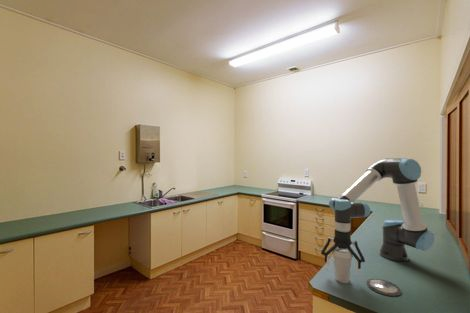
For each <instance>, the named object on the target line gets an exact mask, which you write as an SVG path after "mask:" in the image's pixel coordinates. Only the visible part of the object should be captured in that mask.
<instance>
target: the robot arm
mask: <svg viewBox="0 0 470 313" xmlns="http://www.w3.org/2000/svg"><path fill="white" fill-rule="evenodd" d="M421 175H422V167H421V166H420V164H419V162H418V161H417V160H415V159H414V158H406V157H405V158H404V157H403V158H398V157H397V158H390V157H389V158H382V159H381V160H379V161H376V162H375V163H373V164H371V165H370V166H369V167H368V168H367V169H366V170H365V173H364V174H363V175H362V176H361V177H359V178H358V179H356V181H355V182H354V183H352V185H350V186H349V187H348V188H347V189H346V190H345V191H344V192H342V194H341V195H339V196H338V197H332V198H331V199H330V200H329V202H328V207H329V208H330V209H331V211H332V210H333V211H334V234H333V235H334V236H333V237H331V236H328V237H327V241H326V243H325V244H324V245H323V248H322V250H321V252H320V254H321V255H323V257H324V262H325V263H326V270H329V268H330V265H329V264H330V263H329V262H330V261H329V260H330V259H329V257H330V254H331V253H332V252H333V250H334V249H336V248H337V247H338V248H343V249H348V250H349V251H350V252H351V254H352V255H353V257H354V259H355V276H359V270H360V269H362V268H361V266H362V264H361V263H365V262H366V260H365V256H364V254H363V253H362V252H361V249H360V247H359V244H358V241H357V240H354V241H353V240H351V236H352V234H351V227H352V225H351V224H352V219H354V218H356V219H357V218H358V219H359V218H366V217H369V216H370V214H371V207H370V206H369V205H368V204H367V203H366V202H356V201H357V200H358V199H359V198H360V197H361V196H362V195H363V194H364V193H365V192H367V191H368V190H369V189H370V188H371V187H372V186H373V185H374V184H375V183H376V182H380V181H381V180H383V179H385V178H390V179H391V181H392V183H393V185H396V189H397V194H398V199H399V203H400V208H401V213H402V218H403V220H399V219H398V220H397V219H385V220H383V223H382V244H381V246H380V248H379V255H380V256H381V257H383V258H385V259H387V260H391V261H395V262H407V261H409V255H408V251H407V249H406V246H407V247H411V248H415V249H416V250H420V251H424V252H425V251H428V250H430V249H431V248H433V245H434V244H435V238H436V237H435V234H434V232H432V231H430V230H428V229H429V228H428V225H427V224H426V223H424V222H423V217H422V212H421V208H420V202H419V198H418V197H419V196H418V193H417V188H416V183H417V182H418V179H420V177H421ZM332 242H333V243H334V244H333V245H332V246H331V247H330V248H329V249H328V250H327V248H328V247H329V246H330V243H332ZM351 245H352V246H353V247H355V250H356V251H357V253H358V254H356V252H355V251H354V250H353V248H352V247H351Z"/></svg>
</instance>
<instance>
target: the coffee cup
mask: <svg viewBox="0 0 470 313" xmlns="http://www.w3.org/2000/svg"><path fill="white" fill-rule="evenodd" d="M331 253H332V255H333V268H334V278H335V281H337V282H339V283H342V284H343V283H344V284H348V283H349V282H350V276H351V267H352V266H351V265H352V258H353V257H354V256H353V255H352V254H351V252H350V251H349V250H348V249H343V248H338V247H337V248H336V249H334V250H333V251H332V252H331Z"/></svg>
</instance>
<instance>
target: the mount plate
mask: <svg viewBox="0 0 470 313" xmlns="http://www.w3.org/2000/svg"><path fill="white" fill-rule="evenodd" d="M366 286H367V287H368V288H369V289H370V290H372V291H374V292H375V293H377V294H381V295H383V296H386V297H387V296H388V297H398V296H400V295H401V294H402V290H401V288H400V287H399V286H398V285H397V284H394V283H392V282H391V281H387V280H385V279H380V278H370V279H367V280H366Z"/></svg>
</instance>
